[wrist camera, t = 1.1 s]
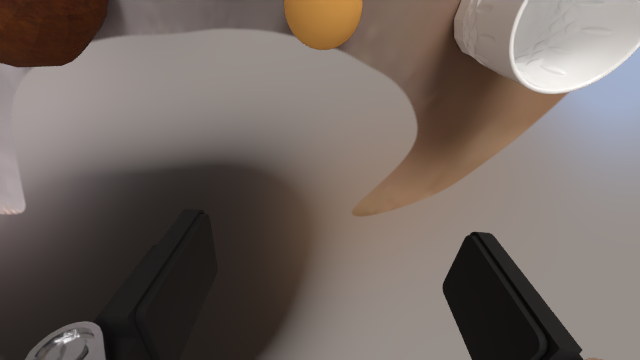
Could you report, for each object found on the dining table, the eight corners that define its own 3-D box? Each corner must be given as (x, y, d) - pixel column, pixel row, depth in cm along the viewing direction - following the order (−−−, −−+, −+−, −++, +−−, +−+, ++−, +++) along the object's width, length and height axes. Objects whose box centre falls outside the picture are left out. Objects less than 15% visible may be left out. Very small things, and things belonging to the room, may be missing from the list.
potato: (148, 14, 24) (79, 17, 17) (73, 82, 27) (-9, 107, 21) (67, -87, 20) (-60, -133, 14) (-7, 6, 24) (-138, 6, 17)
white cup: (555, 21, 23) (682, 29, 15) (469, 82, 26) (535, 118, 18) (523, -69, 20) (660, -122, 12) (429, 12, 23) (487, 16, 15)
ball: (274, -6, 23) (260, -10, 18) (335, -57, 21) (338, -77, 16) (314, 58, 25) (310, 71, 20) (370, 18, 24) (382, 22, 19)
